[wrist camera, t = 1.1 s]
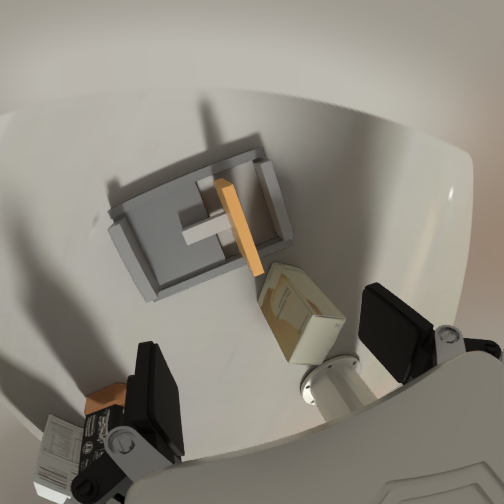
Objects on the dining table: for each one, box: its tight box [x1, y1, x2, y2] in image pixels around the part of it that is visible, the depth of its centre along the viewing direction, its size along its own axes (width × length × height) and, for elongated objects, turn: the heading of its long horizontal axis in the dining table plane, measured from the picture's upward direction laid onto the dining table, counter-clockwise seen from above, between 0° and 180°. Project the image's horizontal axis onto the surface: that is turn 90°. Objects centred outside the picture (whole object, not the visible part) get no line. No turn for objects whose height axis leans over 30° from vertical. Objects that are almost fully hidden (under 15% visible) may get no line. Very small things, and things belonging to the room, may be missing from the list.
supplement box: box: [33, 414, 84, 504], centre depth 30 cm, size 13×13×18 cm
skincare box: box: [258, 262, 347, 365], centre depth 30 cm, size 6×4×12 cm
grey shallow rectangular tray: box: [107, 147, 294, 303], centre depth 29 cm, size 12×18×4 cm, turn 109°
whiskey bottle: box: [78, 383, 127, 474], centre depth 23 cm, size 10×10×32 cm
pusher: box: [182, 178, 265, 277], centre depth 26 cm, size 9×6×7 cm
